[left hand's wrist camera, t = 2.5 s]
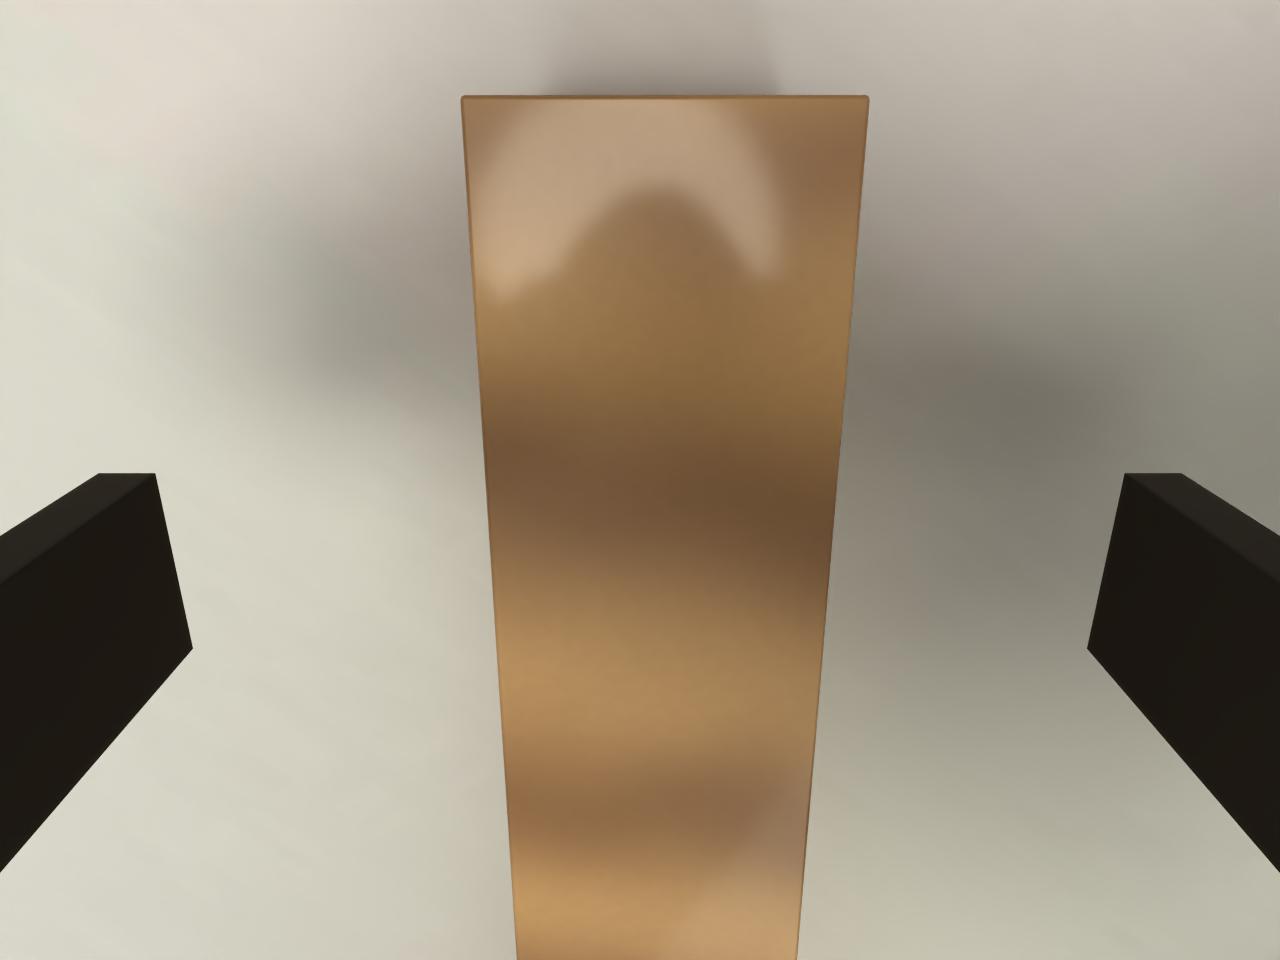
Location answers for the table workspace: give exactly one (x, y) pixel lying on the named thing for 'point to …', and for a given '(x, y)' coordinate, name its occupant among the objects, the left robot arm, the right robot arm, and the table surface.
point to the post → (661, 500)
